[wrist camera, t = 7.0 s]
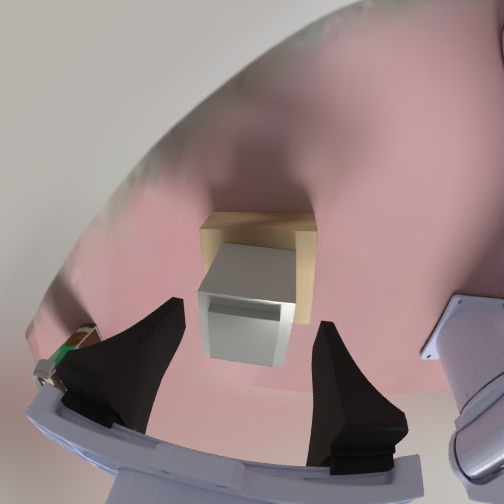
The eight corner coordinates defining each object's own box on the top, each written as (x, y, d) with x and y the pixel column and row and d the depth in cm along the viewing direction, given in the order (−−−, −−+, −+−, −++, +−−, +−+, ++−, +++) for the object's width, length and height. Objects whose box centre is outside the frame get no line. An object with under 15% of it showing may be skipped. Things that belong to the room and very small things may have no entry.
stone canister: (296, 250, 16) (295, 312, 11) (286, 308, 18) (282, 374, 13) (222, 242, 17) (193, 298, 12) (222, 300, 19) (200, 362, 14)
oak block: (313, 211, 19) (317, 231, 16) (308, 295, 22) (309, 324, 19) (214, 210, 20) (199, 229, 17) (223, 291, 23) (212, 318, 20)
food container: (58, 305, 28) (12, 357, 19) (92, 315, 27) (44, 376, 18) (91, 369, 34) (60, 418, 25) (123, 380, 33) (94, 435, 24)
